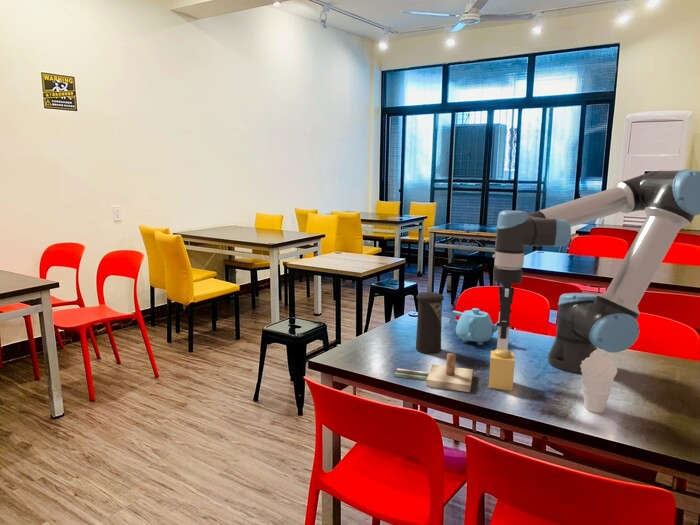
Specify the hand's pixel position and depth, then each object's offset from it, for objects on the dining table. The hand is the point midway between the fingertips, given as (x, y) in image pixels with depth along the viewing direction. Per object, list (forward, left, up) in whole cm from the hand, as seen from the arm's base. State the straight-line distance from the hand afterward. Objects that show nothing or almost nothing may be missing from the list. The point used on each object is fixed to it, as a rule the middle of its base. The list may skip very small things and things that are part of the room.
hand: (502, 341), depth 136 cm
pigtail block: (+19, +2, -13) cm, 23 cm away
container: (+24, -22, -13) cm, 35 cm away
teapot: (+9, -38, -13) cm, 41 cm away
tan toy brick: (0, 0, -13) cm, 13 cm away
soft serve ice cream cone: (-23, +8, -13) cm, 28 cm away
